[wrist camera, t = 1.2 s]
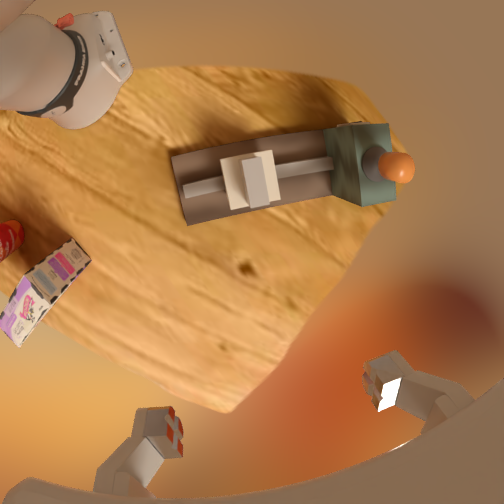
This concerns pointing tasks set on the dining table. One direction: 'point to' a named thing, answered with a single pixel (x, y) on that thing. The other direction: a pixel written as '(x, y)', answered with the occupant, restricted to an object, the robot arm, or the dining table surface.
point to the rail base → (280, 155)
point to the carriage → (250, 179)
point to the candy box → (41, 290)
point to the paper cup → (10, 237)
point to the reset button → (396, 167)
